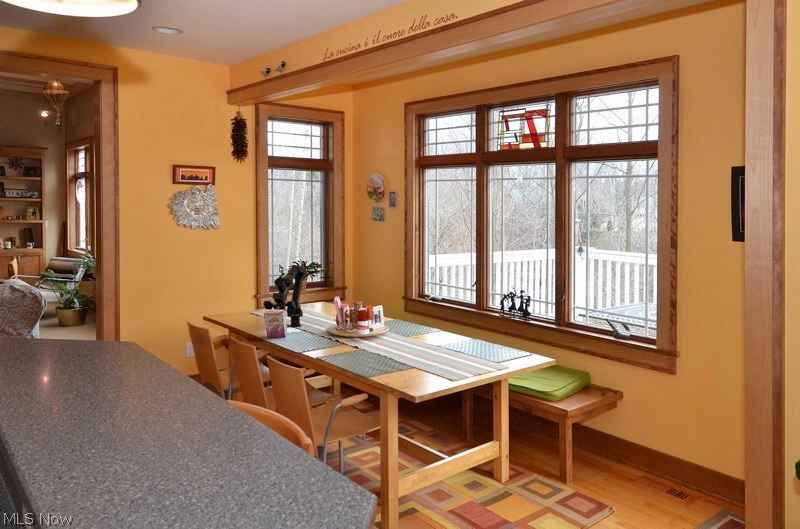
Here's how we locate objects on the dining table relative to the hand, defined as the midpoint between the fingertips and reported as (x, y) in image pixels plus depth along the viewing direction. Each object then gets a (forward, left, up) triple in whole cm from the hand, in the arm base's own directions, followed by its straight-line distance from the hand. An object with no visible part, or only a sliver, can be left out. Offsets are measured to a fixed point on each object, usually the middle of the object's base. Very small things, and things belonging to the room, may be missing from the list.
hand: (276, 317), depth 376 cm
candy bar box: (-1, +1, -11) cm, 11 cm away
